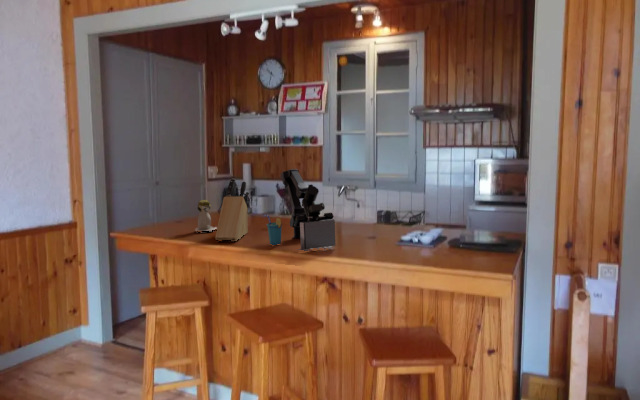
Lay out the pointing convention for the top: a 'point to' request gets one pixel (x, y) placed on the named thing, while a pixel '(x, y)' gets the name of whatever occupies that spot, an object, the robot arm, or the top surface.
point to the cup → (274, 231)
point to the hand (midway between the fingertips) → (319, 233)
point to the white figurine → (204, 217)
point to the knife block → (233, 214)
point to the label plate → (327, 247)
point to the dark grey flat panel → (317, 234)
